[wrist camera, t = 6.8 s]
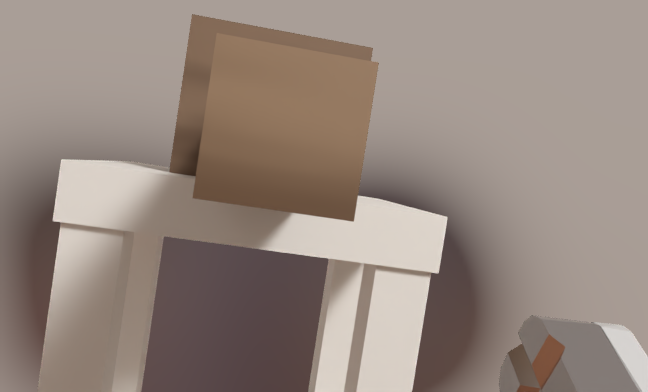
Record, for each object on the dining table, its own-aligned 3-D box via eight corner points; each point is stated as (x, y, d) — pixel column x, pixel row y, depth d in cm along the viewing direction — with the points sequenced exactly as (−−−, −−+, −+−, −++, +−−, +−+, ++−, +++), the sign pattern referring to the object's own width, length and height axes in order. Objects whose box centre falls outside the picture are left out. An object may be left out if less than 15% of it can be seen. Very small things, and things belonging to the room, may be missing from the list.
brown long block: (455, 236, 11) (506, -77, 11) (77, 181, 10) (126, -162, 10) (326, 191, 30) (344, 75, 30) (188, 170, 29) (205, 50, 29)
